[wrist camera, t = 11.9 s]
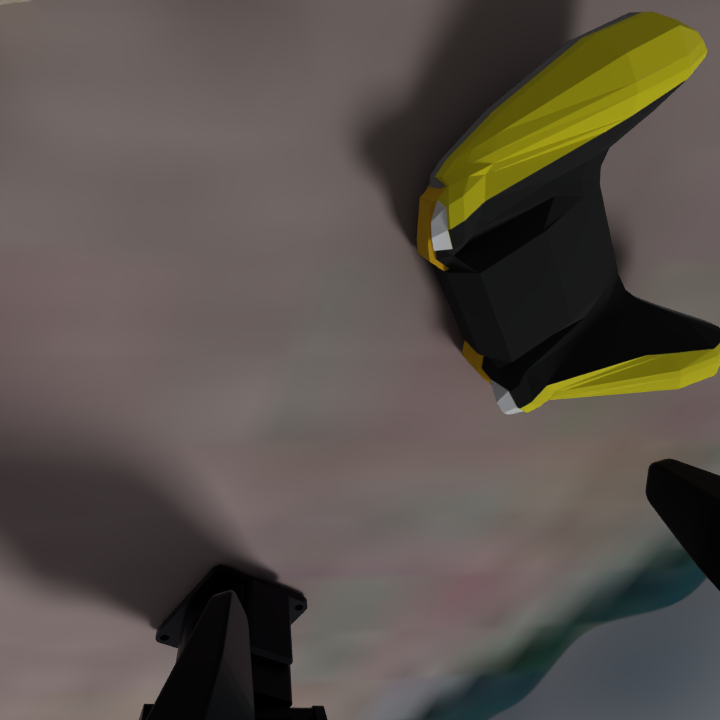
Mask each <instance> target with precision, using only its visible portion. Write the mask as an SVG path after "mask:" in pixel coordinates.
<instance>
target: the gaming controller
mask: <svg viewBox="0 0 720 720" xmlns="http://www.w3.org/2000/svg"><path fill="white" fill-rule="evenodd" d="M706 53H707V48H706V46H705V43H704V41H703V39H702V38H701V36H700V35H699V33H698V32H697V31H696V30H694V29H692V28H690V27H689V26H687V25H685V24H683V23H682V22H680V21H678V20H676V19H673V18H670V17H667V16H664V15H661V14H658V13H654V12H637V13H628V14H625V15H623V16H621V17H619V18H617V19H615V20H613V21H611V22H608V23H606V24H604V25H602V26H600V27H598V28H596V29H594V30H591V31H589V32H587V33H585V34H583V35H581V36H579V37H577V38H574V39H572V40H570V41H568V42H567V43H566V44H564V45H563V46H562V47H561V48H560V49H558V50H557V51H556V52H555V53H554V54H553V55H551V56H550V57H549V58H548V59H547V60H545V61H544V62H543V63H542V64H541V65H539V66H538V67H537V68H536V69H535V70H533V71H532V72H531V73H530V74H529V75H527V76H526V77H525V78H524V79H523V80H521V81H520V82H519V83H518V84H517V85H515V86H514V87H513V88H512V89H511V90H509V91H508V92H507V93H506V94H505V95H504V96H502V97H501V98H500V99H499V100H498V101H496V102H495V103H494V104H493V105H492V106H490V107H489V108H488V109H487V110H486V111H484V113H483V114H482V115H481V116H480V117H479V118H478V119H477V120H476V121H475V122H474V123H473V124H472V126H471V127H470V128H469V129H468V130H467V131H466V132H465V133H464V134H463V135H462V136H461V138H460V139H459V140H458V141H457V142H456V143H455V144H454V145H453V146H452V147H451V148H450V149H449V151H448V152H447V153H446V154H445V155H444V156H443V157H442V158H441V159H440V161H439V162H438V164H437V165H436V167H435V169H434V170H433V172H432V173H431V175H430V184H429V185H428V187H427V189H426V190H425V192H424V193H423V195H422V196H421V197H420V202H419V215H418V229H417V248H418V254H419V255H421V256H422V257H424V258H425V259H427V260H428V261H430V262H431V263H432V265H433V267H434V270H435V272H436V274H437V277H438V279H439V281H440V284H441V286H442V289H443V291H444V293H445V296H446V298H447V300H448V303H449V305H450V307H451V310H452V312H453V314H454V317H455V319H456V322H457V324H458V326H459V329H460V331H461V333H462V336H463V338H464V340H465V341H464V346H463V351H462V355H463V356H464V357H465V358H466V360H467V361H468V362H469V363H470V364H471V365H472V367H473V368H474V369H475V370H476V371H477V372H478V373H479V374H480V375H481V376H482V378H483V379H485V380H486V381H487V382H488V383H490V384H491V385H492V388H493V392H494V395H495V398H496V401H497V403H498V405H499V407H500V408H501V410H502V411H503V413H505V414H514V413H518V412H522V411H525V412H527V413H528V412H530V411H532V410H534V409H536V408H538V407H539V406H541V405H542V404H543V403H545V402H546V401H548V400H554V399H566V398H578V397H589V396H601V395H613V394H624V393H636V392H648V391H659V390H671V389H680V388H682V387H685V386H687V385H690V384H693V383H695V382H698V381H701V380H703V379H706V378H708V377H711V376H714V375H715V374H716V372H717V370H718V368H719V366H720V328H719V327H718V326H716V325H714V324H711V323H709V322H707V321H705V320H702V319H698V318H695V317H692V316H689V315H686V314H683V313H680V312H677V311H674V310H671V309H668V308H665V307H662V306H659V305H656V304H653V303H650V302H648V301H645V300H642V299H640V298H637V297H635V296H633V295H631V294H630V293H629V292H628V291H626V290H625V288H624V286H623V284H622V281H621V279H620V277H619V275H618V271H617V266H616V261H615V256H614V251H613V246H612V242H611V237H610V232H609V227H608V222H607V217H606V212H605V208H604V203H603V198H602V193H601V188H600V169H601V165H602V163H603V160H604V158H605V156H606V154H607V152H608V150H609V148H610V147H611V146H612V145H613V144H614V143H616V142H617V141H618V140H619V139H620V138H622V137H623V136H624V135H625V134H626V133H628V132H629V131H630V130H631V129H632V128H634V127H635V126H636V125H637V124H638V123H639V122H641V121H642V120H643V119H644V118H645V117H647V116H648V115H649V114H650V113H651V112H653V111H654V110H655V109H656V108H657V107H658V106H659V105H660V104H661V103H662V102H663V101H664V100H666V99H667V98H668V97H669V96H670V95H671V94H672V93H673V92H674V91H675V90H676V89H677V88H678V87H679V86H680V85H682V84H683V83H684V82H685V81H686V80H687V79H688V78H689V77H690V75H691V74H692V73H693V72H694V70H695V69H696V68H697V67H698V65H699V64H700V63H701V62H702V61H703V59H704V58H705V56H706Z"/></svg>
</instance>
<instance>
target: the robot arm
mask: <svg viewBox="0 0 720 720" xmlns="http://www.w3.org/2000/svg"><path fill="white" fill-rule="evenodd" d="M646 496H647V499H648V501H649V502H650V504H651V505H652V507H653V508H654V509H655V511H656V512H657V513H658V515H659V516H660V517H661V519H662V520H663V521H664V523H665V524H666V525H667V527H668V528H669V529H670V531H671V532H672V533H673V535H674V536H675V537H676V539H677V540H678V541H679V543H680V544H681V545H682V547H683V548H684V549H685V551H686V552H687V553H688V555H689V556H690V557H691V558H692V560H693V561H694V562H695V563H696V565H697V566H698V567H699V568H700V569H701V571H702V572H703V573H704V574H705V575H706V576H707V578H708V579H709V580H710V581H711V582H712V583H713V584H714V585H715V586H716V588H717V589H718V590H719V591H720V476H719V475H716V474H714V473H711V472H708V471H705V470H702V469H700V468H697V467H694V466H691V465H688V464H685V463H683V462H680V461H677V460H674V459H664V460H660V461H657V462H654V463H652V464H651V465H650V466H649V469H648V476H647V484H646ZM219 574H221V575H219ZM306 609H307V600H306V598H305V597H303V596H301V595H298V594H296V593H293V592H290V591H288V590H285V589H283V588H280V587H278V586H275V585H273V584H270V583H268V582H265V581H262V580H260V579H257V578H255V577H252V576H250V575H247V574H245V573H242V572H239V571H237V570H234V569H232V568H229V567H227V566H223V565H218V566H215V567H214V568H213V569H212V570H211V571H210V572H209V573H208V574H207V575H206V576H205V577H204V578H203V580H202V581H201V582H200V583H199V584H198V585H197V586H196V587H195V588H194V590H193V591H192V592H191V593H190V594H189V595H188V596H187V597H186V598H185V600H184V601H183V602H182V603H181V604H180V605H179V606H178V607H177V608H176V609H175V611H174V612H173V613H172V614H171V615H170V616H169V617H168V618H167V619H166V621H165V622H164V623H163V624H162V625H161V626H160V627H159V628H158V630H157V633H156V641H157V642H159V643H162V644H166V645H169V646H172V647H176V648H178V653H177V659H176V664H175V666H174V668H173V670H172V671H171V673H170V675H169V677H168V679H167V681H166V683H165V685H164V687H163V688H162V690H161V692H160V694H159V696H158V698H157V700H156V702H155V704H144V706H143V709H142V712H141V715H140V718H139V720H327V716H326V713H325V709H324V706H312V708H289V707H291V705H292V690H291V672H290V665H291V664H292V662H293V656H292V639H291V624H292V623H293V622H294V621H295V620H296V619H297V618H298V617H299V616H300V615H301V614H302V613H303V612H304V611H305V610H306Z"/></svg>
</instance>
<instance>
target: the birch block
mask: <svg viewBox="0 0 720 720" xmlns="http://www.w3.org/2000/svg"><path fill="white" fill-rule="evenodd" d="M25 1H33V0H0V5H1V4H9V3H17V2H25Z"/></svg>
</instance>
